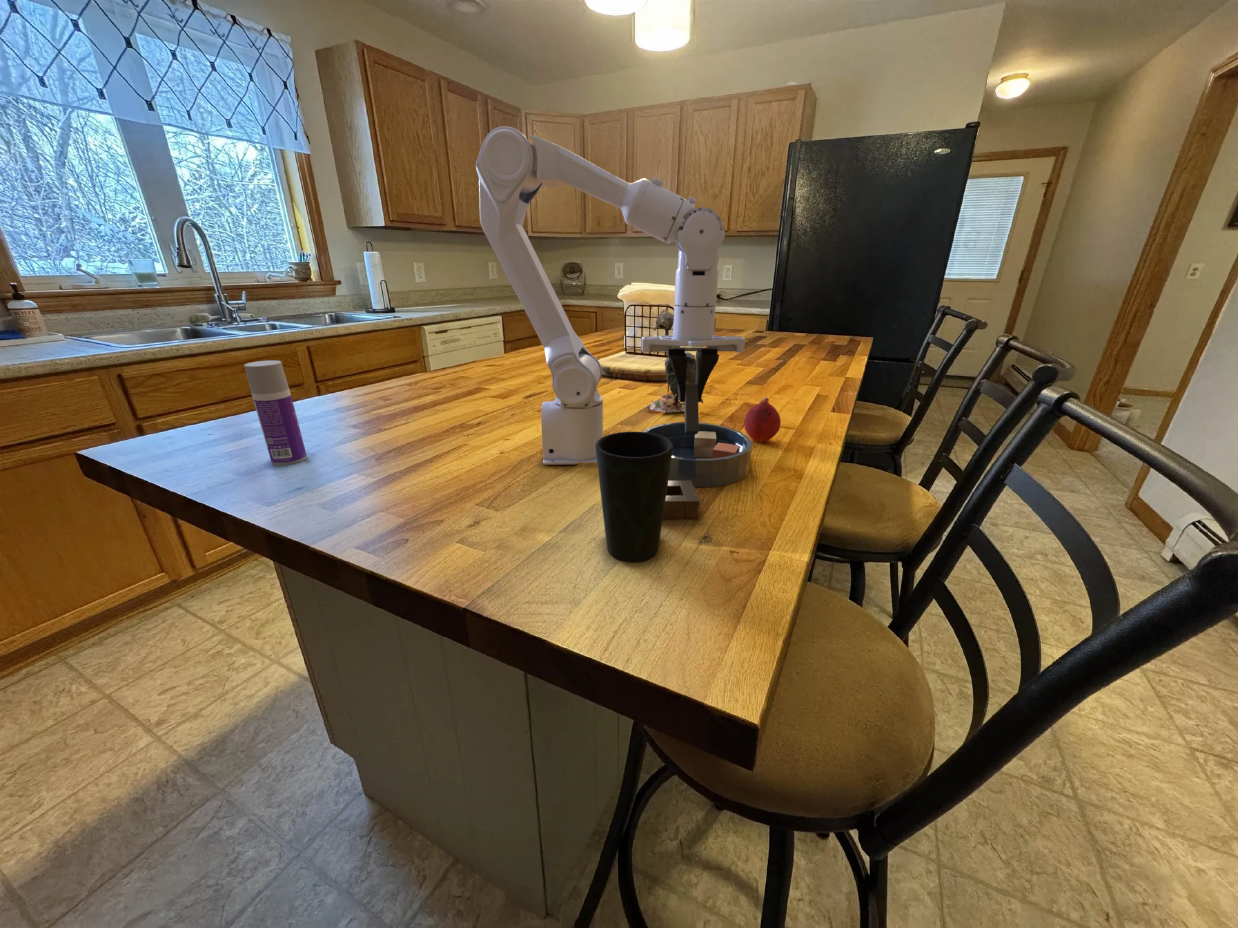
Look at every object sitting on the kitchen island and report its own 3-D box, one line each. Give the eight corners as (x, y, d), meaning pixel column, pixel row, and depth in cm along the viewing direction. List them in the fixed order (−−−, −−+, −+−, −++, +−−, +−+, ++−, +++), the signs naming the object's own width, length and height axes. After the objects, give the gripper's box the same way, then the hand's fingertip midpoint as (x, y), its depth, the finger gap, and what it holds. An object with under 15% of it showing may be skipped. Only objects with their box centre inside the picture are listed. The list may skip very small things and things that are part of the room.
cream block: (693, 457, 76) (695, 437, 75) (693, 449, 79) (695, 430, 78) (714, 458, 75) (716, 438, 74) (714, 450, 78) (715, 431, 77)
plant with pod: (691, 419, 95) (698, 312, 88) (640, 411, 101) (642, 309, 93) (707, 409, 102) (715, 309, 94) (658, 401, 107) (662, 306, 100)
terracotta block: (711, 469, 71) (712, 449, 70) (716, 462, 74) (718, 442, 73) (732, 473, 70) (735, 452, 69) (737, 465, 73) (740, 445, 72)
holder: (648, 524, 58) (649, 501, 57) (645, 501, 63) (645, 480, 62) (697, 523, 58) (699, 501, 57) (689, 501, 63) (691, 480, 62)
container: (314, 457, 77) (289, 361, 71) (284, 468, 73) (256, 367, 68) (294, 452, 79) (269, 359, 73) (264, 463, 75) (235, 364, 69)
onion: (779, 451, 80) (785, 403, 77) (742, 448, 81) (747, 401, 78) (775, 439, 85) (781, 394, 82) (741, 436, 86) (746, 392, 83)
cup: (646, 576, 48) (649, 464, 44) (583, 553, 52) (579, 448, 47) (680, 541, 54) (686, 439, 50) (621, 523, 58) (621, 426, 53)
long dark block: (686, 431, 70) (685, 384, 71) (684, 434, 72) (684, 388, 73) (698, 431, 70) (697, 384, 71) (697, 434, 72) (696, 388, 73)
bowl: (641, 491, 66) (641, 460, 64) (635, 448, 81) (635, 422, 79) (762, 490, 66) (766, 460, 65) (734, 447, 81) (736, 421, 80)
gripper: (644, 308, 64) (642, 408, 70) (754, 308, 65) (744, 407, 70) (641, 303, 71) (639, 395, 76) (741, 303, 71) (732, 395, 76)
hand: (689, 400), depth 74 cm, fingers closed on long dark block, 2 cm apart
